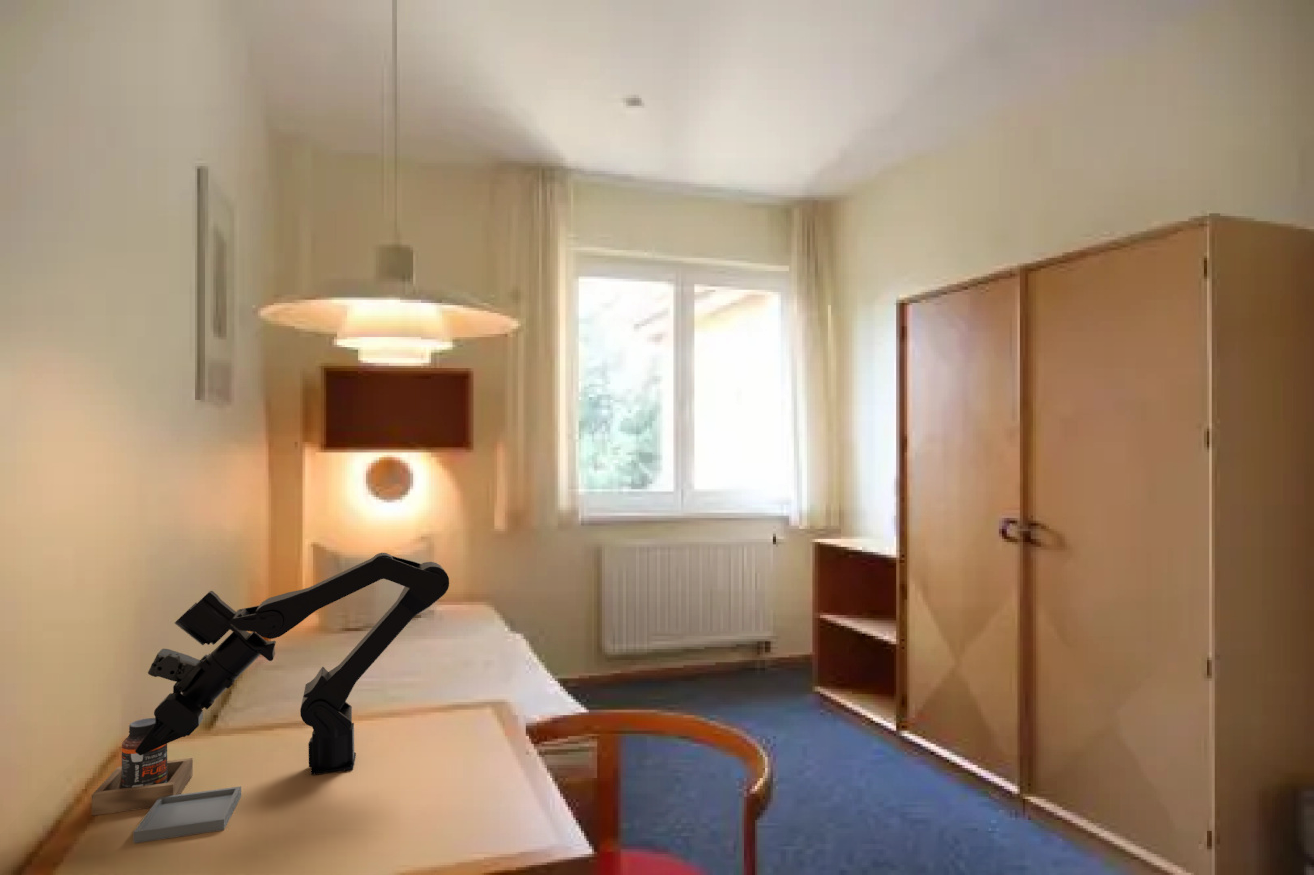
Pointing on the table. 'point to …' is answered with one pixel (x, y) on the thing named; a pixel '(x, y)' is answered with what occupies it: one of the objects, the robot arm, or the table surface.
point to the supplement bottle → (142, 758)
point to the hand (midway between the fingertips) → (145, 742)
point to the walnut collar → (140, 789)
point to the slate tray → (188, 814)
